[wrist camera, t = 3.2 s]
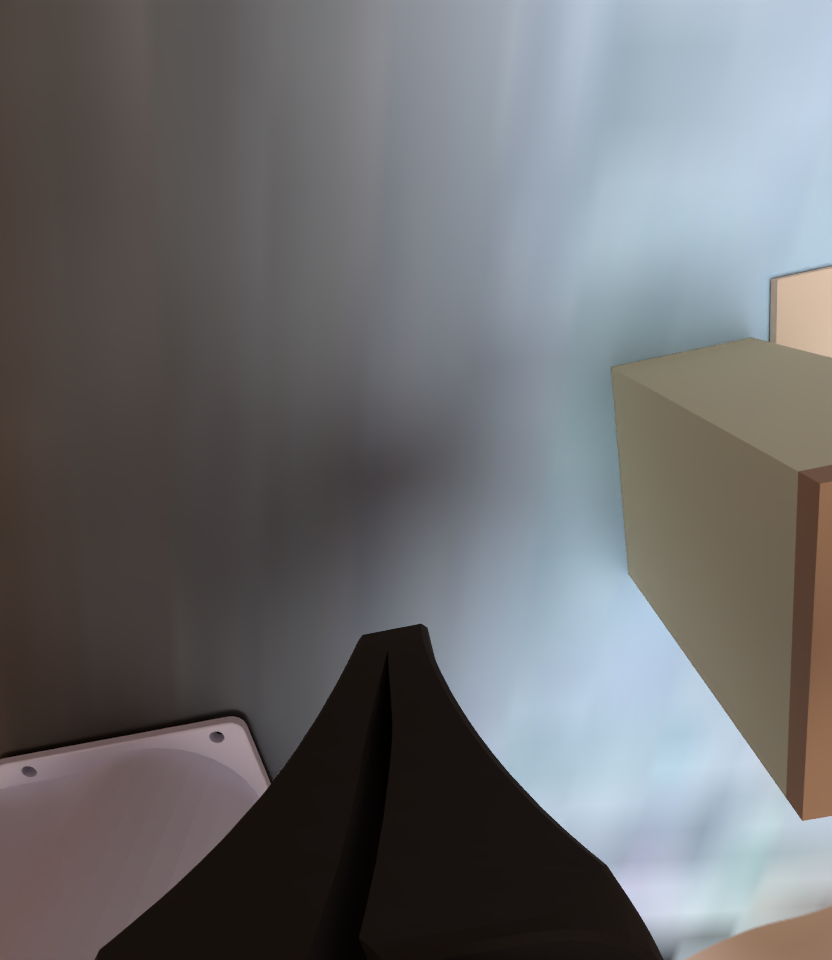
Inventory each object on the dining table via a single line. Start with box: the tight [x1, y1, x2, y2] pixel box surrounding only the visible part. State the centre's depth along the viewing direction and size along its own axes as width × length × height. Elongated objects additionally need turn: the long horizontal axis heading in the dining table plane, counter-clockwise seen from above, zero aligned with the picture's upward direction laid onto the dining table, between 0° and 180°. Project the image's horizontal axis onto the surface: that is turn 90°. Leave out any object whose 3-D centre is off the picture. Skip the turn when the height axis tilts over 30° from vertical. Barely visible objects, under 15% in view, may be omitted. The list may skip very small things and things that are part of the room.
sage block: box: [611, 338, 832, 821], centre depth 14 cm, size 4×7×9 cm, turn 11°
